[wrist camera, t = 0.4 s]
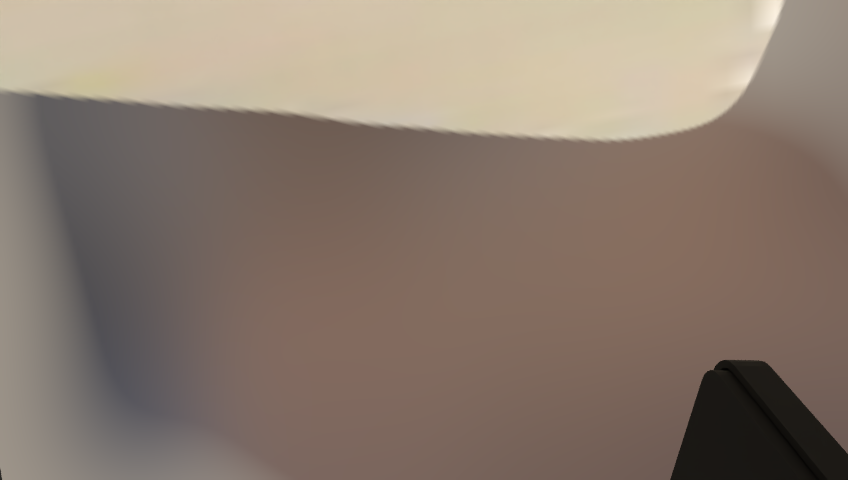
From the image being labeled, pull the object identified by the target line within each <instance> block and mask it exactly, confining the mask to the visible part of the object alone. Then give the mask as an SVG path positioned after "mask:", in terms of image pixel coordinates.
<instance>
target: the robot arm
mask: <svg viewBox="0 0 848 480" xmlns="http://www.w3.org/2000/svg"><path fill="white" fill-rule="evenodd" d="M0 480H2V477H1V471H0ZM670 480H848V454H847V453H846V451H845V450H844V449H843V448H842V447H841V446H840V445H839V444H838V442H837V441H836V440H835V439H834V438H833V437H832V436H831V435H830V433H829V432H828V431H827V430H826V429H825V428H824V427H823V425H821V423H820V422H819V421H818V420H817V419H816V418H815V416H813V414H812V413H811V412H810V411H809V410H808V409H807V407H806V406H805V405H804V404H803V403H802V402H801V401H800V399H799V398H798V397H797V396H796V395H795V394H794V393H793V392H792V390H791V389H790V388H789V387H788V386H787V385H786V384H785V383H784V381H783V380H782V379H781V378H780V377H779V376H778V375H777V374H776V373H775V371H774V370H773V369H772V368H771V367H770V366H769V365H768V364H767V363H765V362H763V361H754V360H723V361H720V362H719V363H718V364H717V365H716V366H715V368H714V370H710V371H707V373H705V375H704V377H703V379H702V382H701V385H700V388H699V391H698V394H697V397H696V400H695V404H694V407H693V410H692V413H691V416H690V419H689V422H688V426H687V429H686V432H685V435H684V438H683V442H682V445H681V448H680V451H679V454H678V457H677V460H676V463H675V467H674V470H673V473H672V476H671V479H670Z"/></svg>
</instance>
